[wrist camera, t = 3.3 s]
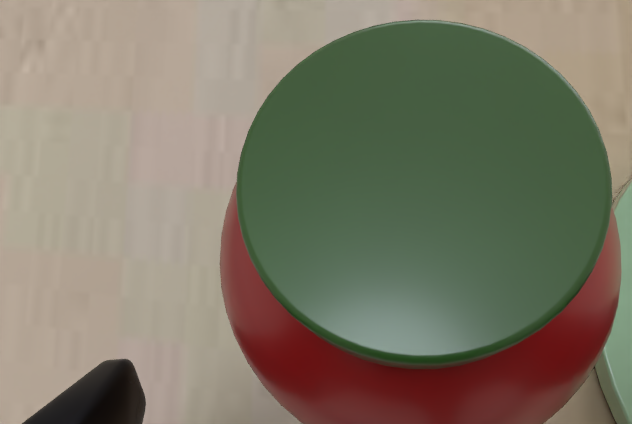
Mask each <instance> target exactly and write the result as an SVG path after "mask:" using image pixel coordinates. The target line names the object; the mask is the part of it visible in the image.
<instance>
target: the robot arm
mask: <svg viewBox="0 0 632 424" xmlns="http://www.w3.org/2000/svg"><path fill="white" fill-rule="evenodd" d="M145 406H146V401H145V395H144V392H143V389H142V387H141V384H140V381H139V379H138V376H137V373H136V370H135V368H134V365H133V363H132V362H131V361H130V360H128V359H117V360H107V361H104V362H102V363H101V364H99V365H98V366H97V367H95V368H94V369H93V370H92V371H90V372H89V373H88V374H86V375H85V376H84V377H82V378H81V379H80V380H78V381H77V382H76V383H75V384H73V385H72V386H71V387H69V388H68V389H67V390H65V391H64V392H63V393H61V394H60V395H59V396H58V397H56V398H55V399H54V400H52V401H51V402H50V403H48V404H47V405H46V406H44V407H43V408H42V409H41V410H39V411H38V412H37V413H35V414H34V415H33V416H31V417H30V418H29V419H27V420H26V421H25V422H23V423H22V424H142V422H143V418H144V413H145Z"/></svg>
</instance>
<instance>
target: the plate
mask: <svg viewBox="0 0 632 424" xmlns="http://www.w3.org/2000/svg"><path fill="white" fill-rule="evenodd" d="M612 208H613V211H614V214H615V217H616V221H617V227H618V233H619V238H620V244H621V269H622V273H621V285H620V294H619V303H618V308H617V312H616V316H615V319H614V323H613V327H612V331H611V333H610V336H609V338H608V340H607V343H606V345H605V347H604V349H603V352H602V354H601V356H600V358H599V360H598V361H597V363H596V365H595V368H596V372H597V375H598V379H599V382H600V385H601V388H602V391H603V393H604V396H605V398H606V400H607V403H608V405H609V407H610V410H611V412H612V414H613V417H614V419H615V421H616V423H617V424H632V178H631V179H630V180H629V182H628V183H627V184H626V185H625V186H624V187H623V189H622V190H621V192H620V193H619V195H618V197H617V198H616V200H615V201H614V203H613V204H612Z"/></svg>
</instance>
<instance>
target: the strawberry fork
mask: <svg viewBox="0 0 632 424" xmlns="http://www.w3.org/2000/svg"><path fill="white" fill-rule="evenodd" d="M621 273H622V269H621V244H620V238H619V233H618V227H617V221H616V217H615V214H614V211H613V208H612V181H611V173H610V167H609V162H608V156H607V152H606V149H605V146H604V143H603V140H602V137H601V134H600V131H599V129H598V127H597V125H596V123H595V121H594V119H593V117H592V115H591V113H590V111H589V109H588V108H587V106H586V105H585V103H584V102H583V100H582V99H581V98H580V96H579V95H578V93H577V92H576V90H575V89H574V88H573V87H572V86H571V85H570V84H569V83H568V82H567V80H566V79H565V78H564V77H563V76H562V75H561V74H560V73H559V72H558V71H557V70H555V69H554V68H553V67H552V66H551V65H550V64H548V63H547V62H546V61H545V60H544V59H542V58H541V57H539V56H538V55H536V54H535V53H533V52H532V51H530V50H529V49H527V48H526V47H524V46H522V45H520V44H518V43H516V42H514V41H512V40H510V39H508V38H506V37H504V36H502V35H499V34H496V33H494V32H491V31H488V30H485V29H483V28H479V27H474V26H470V25H466V24H462V23H455V22H448V21H440V20H410V21H399V22H392V23H386V24H381V25H376V26H372V27H369V28H366V29H362V30H359V31H356V32H353V33H351V34H348V35H346V36H344V37H341V38H339V39H337V40H335V41H333V42H331V43H329V44H327V45H326V46H324V47H322V48H320V49H319V50H317V51H315V52H314V53H312V54H311V55H310V56H308V57H307V58H306V59H304V60H303V61H302V62H300V63H299V64H298V65H297V66H295V67H294V68H293V69H292V70H291V71H290V72H289V73H288V74H287V75H286V76H285V77H284V78H283V79H282V80H281V81H280V82H279V83H278V85H277V86H276V87H275V88H274V89H273V91H272V92H271V93H270V94H269V95H268V97H267V99H266V100H265V102H264V103H263V105H262V106H261V108H260V109H259V111H258V112H257V115H256V117H255V119H254V121H253V123H252V125H251V127H250V129H249V131H248V134H247V137H246V140H245V143H244V146H243V149H242V152H241V157H240V162H239V167H238V172H237V182H236V185H235V187H234V189H233V192H232V195H231V198H230V201H229V204H228V207H227V210H226V215H225V220H224V225H223V230H222V237H221V252H220V274H221V288H222V293H223V298H224V303H225V308H226V313H227V315H228V318H229V321H230V324H231V327H232V330H233V333H234V336H235V338H236V340H237V342H238V344H239V346H240V348H241V350H242V352H243V354H244V356H245V358H246V360H247V362H248V364H249V365H250V367H251V368H252V370H253V371H254V373H255V374H256V376H257V377H258V378H259V380H260V381H261V383H262V384H263V386H264V387H265V388H266V389H267V390H268V391H269V392H270V393H271V395H272V396H273V397H274V398H275V399H276V400H277V401H278V402H279V403H280V405H281V406H283V407H284V408H285V409H286V410H287V411H289V412H290V413H291V414H292V415H293V416H294V417H296V418H297V419H298V420H299V421H300V422H301V423H303V424H544V423H545V422H546V421H547V420H548V419H549V418H551V417H552V416H553V415H554V414H555V413H556V412H558V411H559V410H560V409H561V408H562V407H563V406H564V405H565V404H566V403H567V402H568V401H569V399H570V398H571V397H572V396H573V395H574V394H575V392H576V391H577V390H578V389H579V388H580V387H581V385H582V384H583V383H584V382H585V380H586V379H587V377H588V376H589V374H590V372H591V371H592V369H593V368H594V366H595V365H596V363H597V361H598V360H599V358H600V356H601V354H602V352H603V349H604V347H605V345H606V343H607V340H608V338H609V336H610V333H611V331H612V327H613V323H614V319H615V316H616V312H617V308H618V303H619V294H620V285H621Z"/></svg>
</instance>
